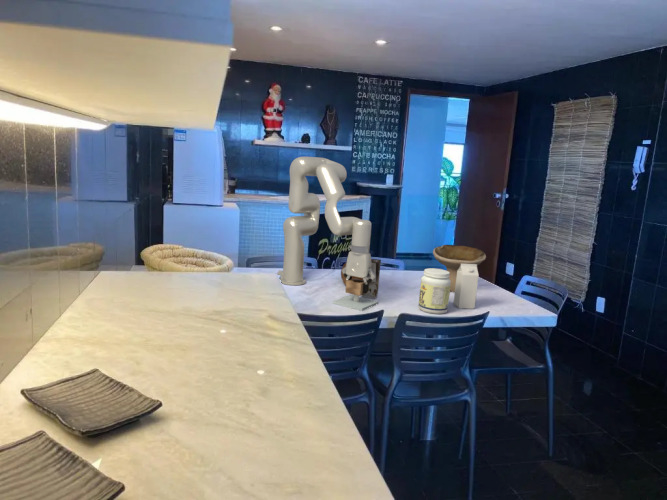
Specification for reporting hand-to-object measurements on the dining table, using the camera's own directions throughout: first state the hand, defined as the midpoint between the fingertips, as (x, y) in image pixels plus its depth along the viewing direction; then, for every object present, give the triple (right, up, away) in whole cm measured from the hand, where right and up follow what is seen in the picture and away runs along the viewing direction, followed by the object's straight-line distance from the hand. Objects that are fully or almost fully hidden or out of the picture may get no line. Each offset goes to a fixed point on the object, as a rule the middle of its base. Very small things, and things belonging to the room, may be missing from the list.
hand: (357, 290), depth 211 cm
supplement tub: (+32, -8, 0) cm, 33 cm away
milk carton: (+47, -8, +9) cm, 48 cm away
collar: (0, -1, 0) cm, 1 cm away
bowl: (+51, -2, +39) cm, 64 cm away
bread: (+1, +1, +36) cm, 36 cm away
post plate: (-1, -5, +1) cm, 6 cm away
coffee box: (+7, -3, +15) cm, 17 cm away
